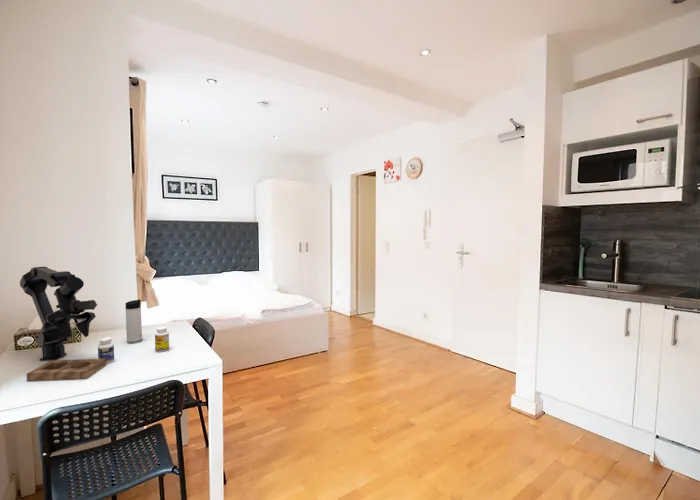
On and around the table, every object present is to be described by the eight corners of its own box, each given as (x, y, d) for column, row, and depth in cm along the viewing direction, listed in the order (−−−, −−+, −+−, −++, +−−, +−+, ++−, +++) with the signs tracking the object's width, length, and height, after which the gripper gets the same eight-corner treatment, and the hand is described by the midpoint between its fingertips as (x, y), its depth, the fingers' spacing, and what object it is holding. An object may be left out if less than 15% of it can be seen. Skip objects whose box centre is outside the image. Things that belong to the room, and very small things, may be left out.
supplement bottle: (152, 351, 154) (151, 328, 154) (163, 347, 159) (162, 325, 159) (161, 353, 152) (160, 330, 151) (172, 348, 157) (171, 327, 157)
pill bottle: (102, 365, 138) (101, 342, 138) (96, 362, 141) (94, 339, 140) (117, 361, 143) (115, 338, 142) (110, 358, 146) (109, 336, 145)
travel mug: (145, 340, 168) (143, 300, 166) (130, 344, 162) (129, 302, 161) (138, 338, 171) (137, 298, 170) (124, 342, 166) (122, 301, 164)
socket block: (27, 381, 124) (26, 373, 124) (52, 367, 136) (51, 360, 136) (86, 379, 126) (86, 371, 126) (106, 365, 138) (105, 358, 138)
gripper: (70, 288, 129) (83, 326, 126) (102, 294, 147) (113, 327, 145) (40, 302, 127) (52, 340, 125) (75, 305, 146) (87, 339, 143)
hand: (78, 336), depth 134 cm, fingers open, 9 cm apart
